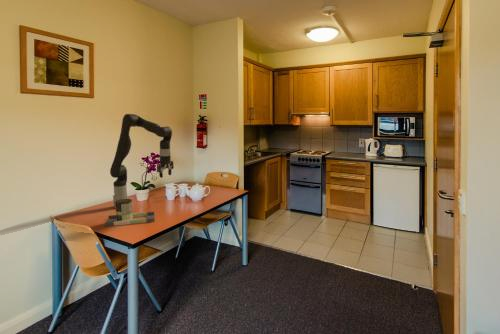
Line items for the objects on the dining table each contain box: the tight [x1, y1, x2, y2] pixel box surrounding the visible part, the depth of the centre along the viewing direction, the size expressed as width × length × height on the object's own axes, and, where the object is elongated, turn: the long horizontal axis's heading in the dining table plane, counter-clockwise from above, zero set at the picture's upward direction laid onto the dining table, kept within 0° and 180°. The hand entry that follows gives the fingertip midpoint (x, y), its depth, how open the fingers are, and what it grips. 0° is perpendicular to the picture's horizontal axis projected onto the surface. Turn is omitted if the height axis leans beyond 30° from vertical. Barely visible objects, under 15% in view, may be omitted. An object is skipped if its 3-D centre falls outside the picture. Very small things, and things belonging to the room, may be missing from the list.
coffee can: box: [115, 198, 134, 221], centre depth 200 cm, size 10×10×14 cm
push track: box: [104, 211, 155, 227], centre depth 202 cm, size 30×16×2 cm, turn 108°
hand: (165, 176), depth 218 cm, fingers open, 8 cm apart
